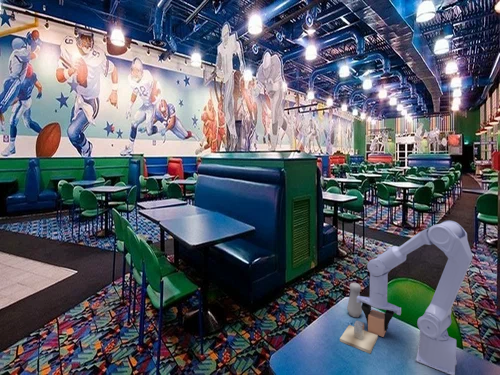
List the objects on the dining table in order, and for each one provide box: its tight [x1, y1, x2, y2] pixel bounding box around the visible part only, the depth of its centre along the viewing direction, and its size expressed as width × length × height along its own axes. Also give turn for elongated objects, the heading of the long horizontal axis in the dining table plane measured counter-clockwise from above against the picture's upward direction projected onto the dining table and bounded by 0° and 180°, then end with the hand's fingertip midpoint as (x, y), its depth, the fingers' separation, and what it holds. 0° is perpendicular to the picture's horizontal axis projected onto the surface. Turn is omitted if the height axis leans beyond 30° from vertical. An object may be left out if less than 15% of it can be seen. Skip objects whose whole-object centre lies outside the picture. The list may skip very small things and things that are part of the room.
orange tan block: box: [367, 309, 387, 338], centre depth 95 cm, size 5×5×6 cm
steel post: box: [353, 320, 365, 340], centre depth 91 cm, size 3×3×5 cm
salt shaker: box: [346, 282, 363, 318], centre depth 106 cm, size 6×6×13 cm
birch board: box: [339, 324, 379, 355], centre depth 91 cm, size 10×10×1 cm
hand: (377, 326), depth 95 cm, fingers closed on orange tan block, 5 cm apart
